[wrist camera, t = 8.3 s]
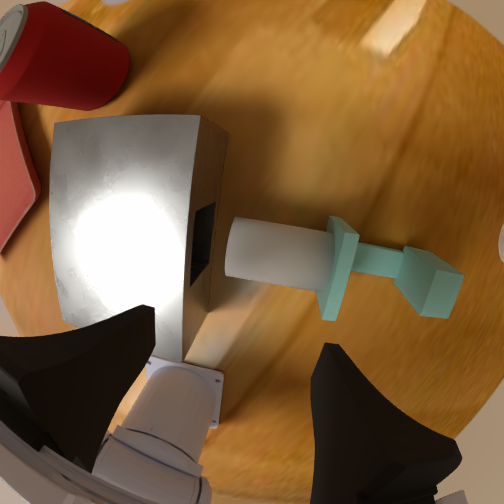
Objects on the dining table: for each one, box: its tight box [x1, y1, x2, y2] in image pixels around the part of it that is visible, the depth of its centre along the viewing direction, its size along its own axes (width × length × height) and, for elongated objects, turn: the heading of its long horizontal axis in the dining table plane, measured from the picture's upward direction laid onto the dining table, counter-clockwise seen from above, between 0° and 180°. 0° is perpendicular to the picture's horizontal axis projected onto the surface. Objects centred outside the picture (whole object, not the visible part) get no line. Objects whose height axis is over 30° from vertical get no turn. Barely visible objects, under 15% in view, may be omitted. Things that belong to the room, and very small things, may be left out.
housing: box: [49, 114, 228, 363], centre depth 17 cm, size 14×10×6 cm
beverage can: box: [0, 2, 130, 111], centre depth 11 cm, size 7×7×12 cm
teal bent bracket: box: [225, 215, 465, 321], centre depth 16 cm, size 5×14×5 cm, turn 82°
